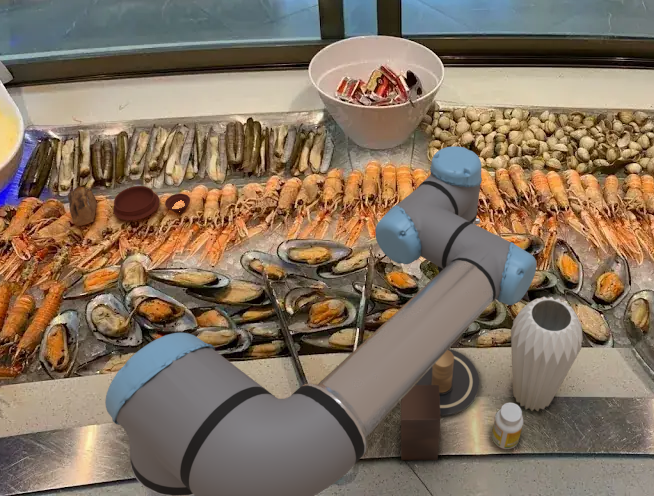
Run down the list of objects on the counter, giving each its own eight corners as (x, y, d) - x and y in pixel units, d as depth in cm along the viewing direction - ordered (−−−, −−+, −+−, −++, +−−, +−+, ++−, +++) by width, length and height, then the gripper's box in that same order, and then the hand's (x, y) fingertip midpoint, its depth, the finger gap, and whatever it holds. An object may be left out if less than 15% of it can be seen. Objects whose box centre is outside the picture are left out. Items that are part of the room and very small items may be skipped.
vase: (526, 355, 145) (544, 275, 127) (577, 394, 138) (603, 315, 120) (487, 393, 138) (499, 314, 120) (538, 436, 131) (559, 359, 113)
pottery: (122, 196, 181) (117, 184, 178) (196, 195, 182) (193, 182, 179) (109, 226, 172) (104, 214, 169) (187, 224, 173) (183, 212, 170)
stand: (401, 460, 127) (400, 419, 117) (401, 426, 132) (400, 384, 122) (437, 459, 127) (440, 419, 117) (436, 426, 132) (439, 384, 122)
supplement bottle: (488, 444, 130) (492, 418, 123) (496, 420, 133) (501, 395, 127) (514, 454, 128) (520, 429, 122) (522, 430, 132) (528, 404, 125)
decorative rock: (99, 229, 172) (85, 198, 164) (74, 234, 170) (59, 203, 163) (100, 199, 180) (87, 169, 173) (76, 204, 178) (62, 173, 171)
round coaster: (422, 428, 132) (422, 425, 131) (391, 365, 142) (390, 363, 142) (492, 398, 137) (493, 396, 136) (457, 340, 147) (457, 337, 147)
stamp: (436, 399, 136) (437, 371, 129) (426, 380, 139) (427, 352, 132) (457, 390, 137) (459, 362, 130) (446, 372, 140) (448, 344, 134)
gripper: (473, 293, 98) (464, 374, 112) (476, 183, 116) (468, 265, 131) (422, 289, 98) (420, 370, 113) (434, 180, 117) (430, 262, 131)
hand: (446, 314), depth 122 cm, fingers open, 13 cm apart
